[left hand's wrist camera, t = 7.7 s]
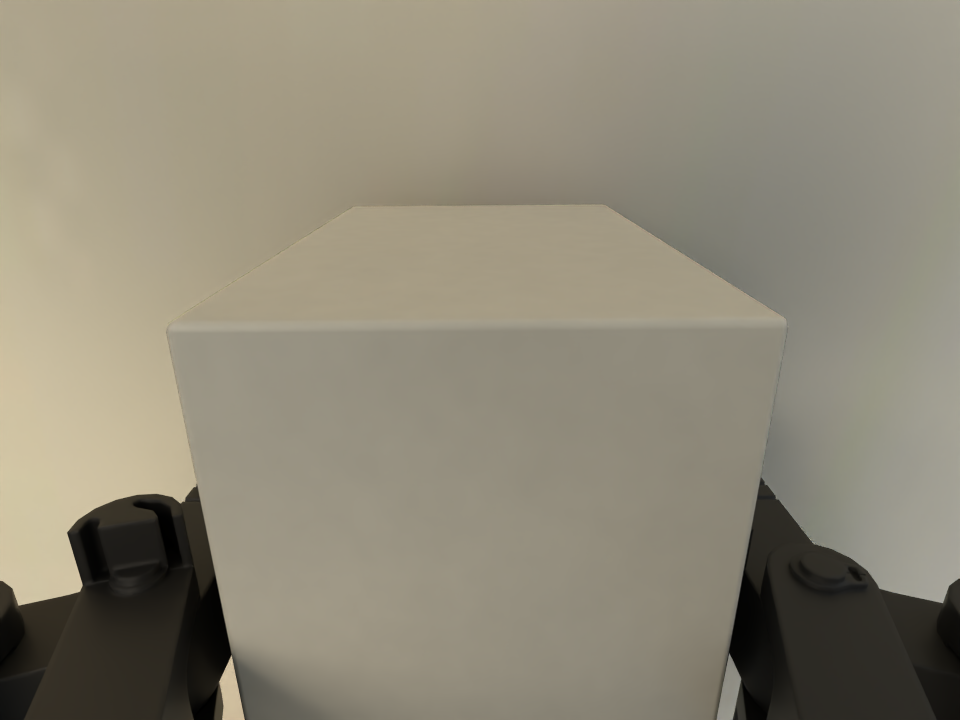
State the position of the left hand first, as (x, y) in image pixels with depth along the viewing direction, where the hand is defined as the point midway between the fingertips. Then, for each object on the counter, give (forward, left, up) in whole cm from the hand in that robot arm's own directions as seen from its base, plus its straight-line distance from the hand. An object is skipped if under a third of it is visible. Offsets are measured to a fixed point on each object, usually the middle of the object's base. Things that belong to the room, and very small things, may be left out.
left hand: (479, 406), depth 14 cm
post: (+22, -15, -1) cm, 27 cm away
